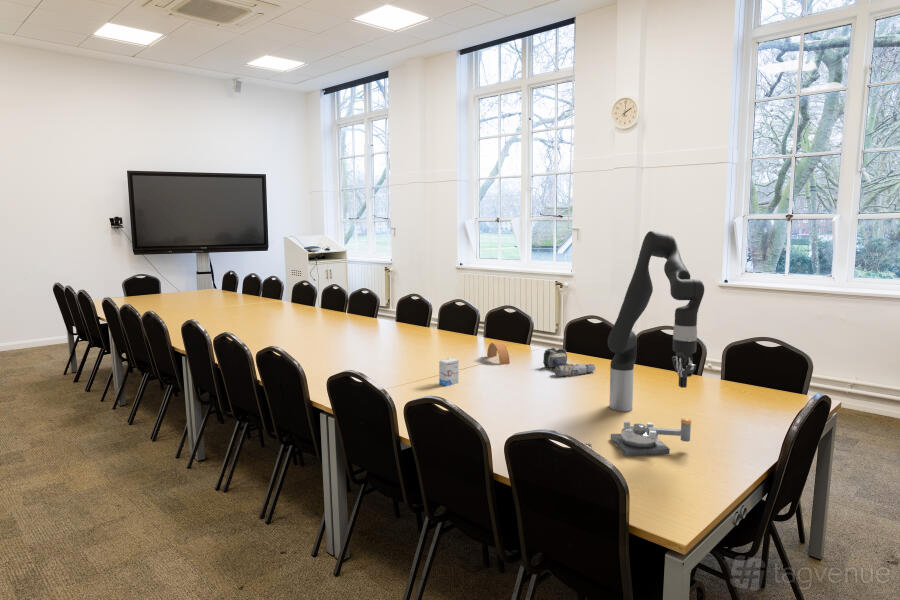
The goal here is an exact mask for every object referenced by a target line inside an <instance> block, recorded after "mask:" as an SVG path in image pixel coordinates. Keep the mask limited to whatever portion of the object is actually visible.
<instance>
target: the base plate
mask: <svg viewBox="0 0 900 600" xmlns="http://www.w3.org/2000/svg"><path fill="white" fill-rule="evenodd" d="M610 440H611V442H612V441H613V442H614V443H615V444H616V445H617V446H616V445H615V444H614V443H613V442H612V443H613V444H614V445H615V446H616V448H617V449H618V450H621V451H622V452H623V453H622V452H621V451H620V452H621V453H622V454H623V455H624V456H625V457H639V456H640V457H641V456H643V455H646V456H663V454H669V455H670V454H671V453H670V452H671V451H670V449H671V448H669V446H667V445H666V444H665V443H664V442H663V441H662V440H661V439H659V438H658V443H657V445H655V446H652V447H635V446H630V445H628V444H625V443H624V442H622V440H621V433H610Z"/></svg>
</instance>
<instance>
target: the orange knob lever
mask: <svg viewBox="0 0 900 600" xmlns="http://www.w3.org/2000/svg"><path fill="white" fill-rule="evenodd" d="M680 423H681V424H680V425H681V426H680V428H664V427H663V428H662V427H654V423H653V422H646V425H645V424H644V423H634V424H633V425H631V421H627V420H624V421H623V428H621V431H620V432H621V433H620V434H621V440H622V442H624V443H625V444H628V445H630V446H635V447H652V446H655V445H657V443H658V439H659V435H660V436H662V435H663V436H675V437H676V436H677V437H680V441H682V442H684V443H685V442H691V432H692V431H691V429H692V426H691V425H692V419H690V418H687V417H682V418H681V419H680Z"/></svg>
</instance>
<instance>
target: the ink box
mask: <svg viewBox="0 0 900 600" xmlns="http://www.w3.org/2000/svg"><path fill="white" fill-rule="evenodd" d="M438 363H439V365H438V367H439V368H438V369H439V371H438V372H439V376H438V378H439V385H441V386H445V387H448V386H452V385H455V384H459V374H460V373H459V369H460V367H459V359H457V358H454V357H449V358H445V359H441V360H439V361H438Z"/></svg>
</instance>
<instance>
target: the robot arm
mask: <svg viewBox="0 0 900 600" xmlns="http://www.w3.org/2000/svg"><path fill="white" fill-rule="evenodd" d="M652 257H656V258H661V259H665V260H666V261H665V264H664V266H663V269H664V274H665V275H666V278H667V279H668V281H669V285H670V292H669V293H670V296H671V297H672V298H673V299H674V300H676V301H688V303H687V304H685V305H683V306H679V307H677V308H675V311H674V324H673V332H672V333H673V334H672V351H673V352H675V356H672V357H671V360H672V364H673V368H674V370H675V373H677V376H678V387H679V388H680V389H681V388H687V386H688V378H691V377H692V376H693V374H694V372H695V371H696V369H697V364H694V363H693V361H694V360H693V354H694V353H696V352H697V343H698V313H699V309H700V307H701V303H702V300H703V298H704V295H705V285H704V283H703V281H701V280H700V279H698V278H695V279H691V274H690V272H689V270H688V269H687V267H686V265H685V263H684V262H683V260H682V258H681V254H680V250H679V247H678V243H677V241H676V239H675V237H674V236H672V235H671V234H669V233H664V232H658V231H655V230H650V231H648V232H647V233H646V234H645V236H644V238H643V241H642V244H641V247H640V251H639V254H638V258H637V262H636V265H635V268H634V271H633V275H632V277H631V280H630V282H629V285H628V286H627V290H626V292H625V296H624V298H623V302H622V304H621V307H620V310H619V312H618V315H617V318H616V320H615V323H614V325H613V326H612V329H611V330H610V332H609V334H608V337H607V347H608V349H609V350H610V351H611V352H612V353H613V354H615V355H614V356H613V358H612V359H611V360H610V368H609V369H610V370H609V371H610V372H609V373H610V374H609V404H608V405H609V409H610V410H613V411H616V412H631V411H633V405H634V403H633V402H634V369H635V363H636V360H637V350H638V340H637V338H638V337H637V334H635V333H636V332H634V331H633V330H632V329H634V328H633V327H634V325H635V324H636V322H637V321H638V319H639V318H640V317H641V315H642V314H643V313H644V311H645V310H646V309H647V307H648V305H649V304H650V303H649V302H650V299H651V296H652V294H653V291H654V289H653V288H654V287H653V283H652V282H653V281H652V279H651V275H650V269H649V265H650V260H651V258H652Z"/></svg>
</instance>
